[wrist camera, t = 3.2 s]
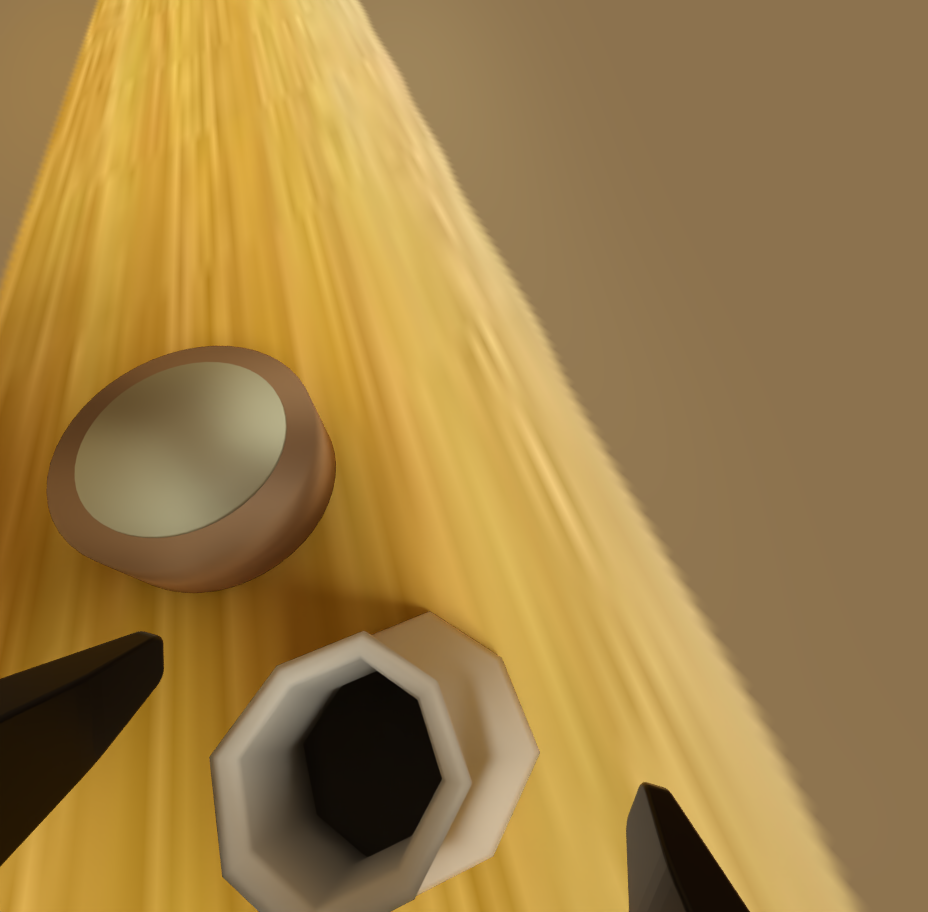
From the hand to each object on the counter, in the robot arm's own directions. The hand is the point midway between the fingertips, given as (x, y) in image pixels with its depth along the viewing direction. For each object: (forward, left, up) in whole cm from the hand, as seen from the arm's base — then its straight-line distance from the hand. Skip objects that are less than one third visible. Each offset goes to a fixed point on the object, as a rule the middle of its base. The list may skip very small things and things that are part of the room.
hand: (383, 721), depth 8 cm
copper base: (+6, +10, -7) cm, 14 cm away
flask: (-1, 0, -8) cm, 8 cm away
